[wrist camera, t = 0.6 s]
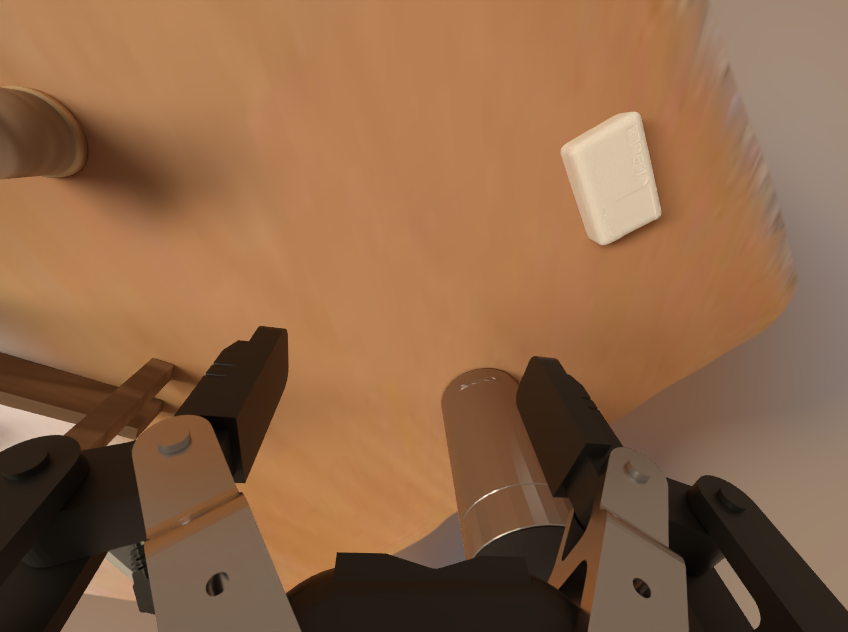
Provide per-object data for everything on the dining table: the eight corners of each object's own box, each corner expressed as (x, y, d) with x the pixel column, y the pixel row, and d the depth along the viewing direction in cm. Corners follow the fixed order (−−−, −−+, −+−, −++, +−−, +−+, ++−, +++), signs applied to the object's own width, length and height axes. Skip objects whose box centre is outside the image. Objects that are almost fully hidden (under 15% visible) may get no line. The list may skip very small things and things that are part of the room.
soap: (555, 147, 28) (571, 147, 25) (619, 110, 27) (643, 106, 24) (586, 241, 32) (603, 250, 29) (644, 211, 31) (667, 217, 28)
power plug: (141, 522, 42) (170, 622, 40) (195, 495, 50) (222, 579, 48) (109, 537, 43) (136, 636, 41) (166, 509, 51) (191, 592, 49)
